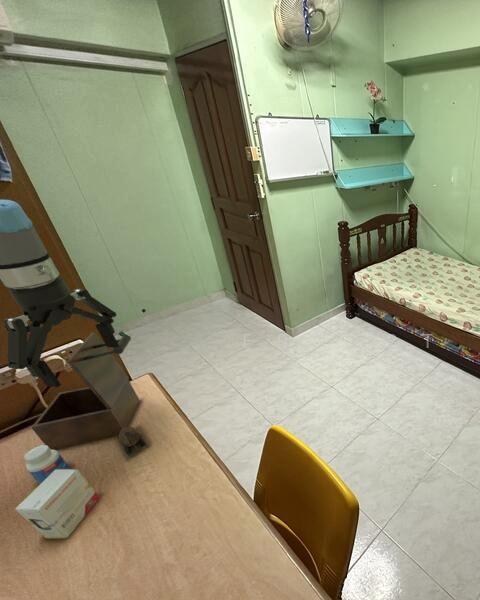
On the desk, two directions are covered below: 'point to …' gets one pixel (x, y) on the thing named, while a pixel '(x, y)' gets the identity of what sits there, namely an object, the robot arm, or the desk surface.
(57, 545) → the desk surface
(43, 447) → the pill bottle
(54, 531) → the ink box
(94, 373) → the lid
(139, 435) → the figurine
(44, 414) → the chest
